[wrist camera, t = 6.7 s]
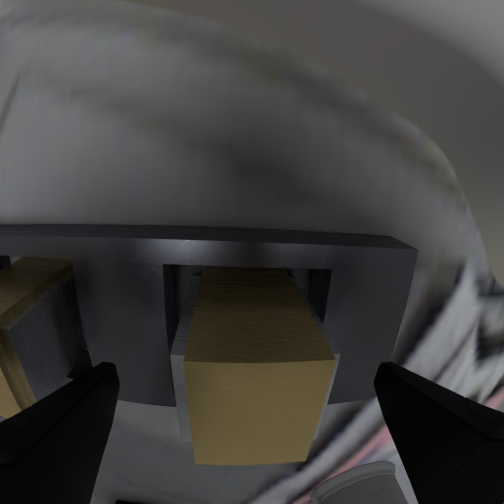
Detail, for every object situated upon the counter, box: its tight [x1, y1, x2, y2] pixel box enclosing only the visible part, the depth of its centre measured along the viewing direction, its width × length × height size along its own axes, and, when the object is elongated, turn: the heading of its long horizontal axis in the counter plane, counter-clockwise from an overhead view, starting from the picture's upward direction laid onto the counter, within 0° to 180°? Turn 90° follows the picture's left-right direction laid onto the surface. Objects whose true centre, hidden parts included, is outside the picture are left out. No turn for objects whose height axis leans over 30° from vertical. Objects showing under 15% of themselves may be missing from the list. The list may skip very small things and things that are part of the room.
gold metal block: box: [170, 266, 341, 465], centre depth 10 cm, size 4×4×7 cm
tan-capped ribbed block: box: [0, 257, 87, 419], centre depth 9 cm, size 4×4×7 cm
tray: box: [0, 224, 418, 407], centre depth 12 cm, size 8×22×2 cm, turn 86°
